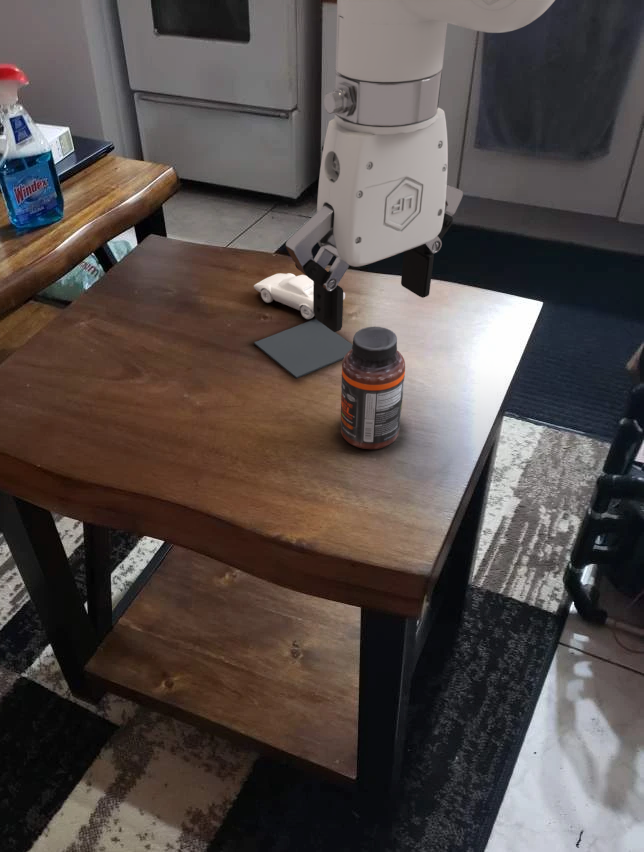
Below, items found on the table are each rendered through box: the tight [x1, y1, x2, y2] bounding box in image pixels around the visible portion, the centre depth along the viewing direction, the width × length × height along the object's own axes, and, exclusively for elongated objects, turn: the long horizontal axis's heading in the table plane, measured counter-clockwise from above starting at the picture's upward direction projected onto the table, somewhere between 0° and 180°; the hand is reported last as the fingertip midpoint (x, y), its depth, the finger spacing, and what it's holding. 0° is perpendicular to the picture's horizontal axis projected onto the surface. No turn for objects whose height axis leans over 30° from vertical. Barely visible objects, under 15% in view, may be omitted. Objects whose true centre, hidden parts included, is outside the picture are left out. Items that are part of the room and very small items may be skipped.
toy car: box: [253, 272, 346, 320], centre depth 94 cm, size 6×12×3 cm, turn 47°
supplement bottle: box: [340, 326, 406, 450], centre depth 72 cm, size 6×6×11 cm
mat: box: [253, 318, 353, 379], centre depth 88 cm, size 9×9×1 cm
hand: (372, 307), depth 66 cm, fingers open, 9 cm apart
